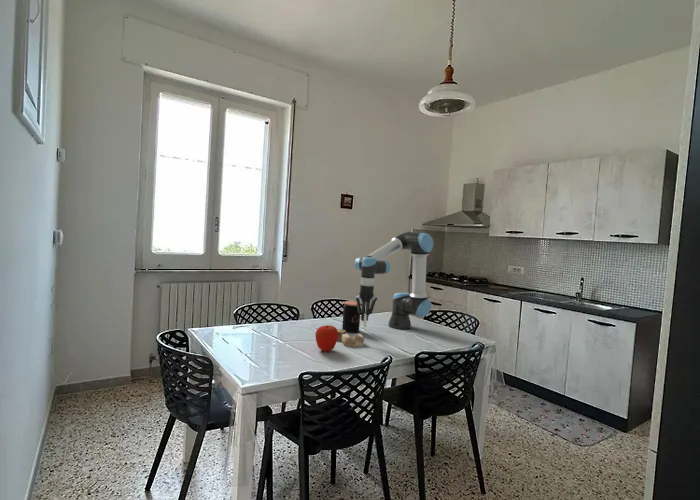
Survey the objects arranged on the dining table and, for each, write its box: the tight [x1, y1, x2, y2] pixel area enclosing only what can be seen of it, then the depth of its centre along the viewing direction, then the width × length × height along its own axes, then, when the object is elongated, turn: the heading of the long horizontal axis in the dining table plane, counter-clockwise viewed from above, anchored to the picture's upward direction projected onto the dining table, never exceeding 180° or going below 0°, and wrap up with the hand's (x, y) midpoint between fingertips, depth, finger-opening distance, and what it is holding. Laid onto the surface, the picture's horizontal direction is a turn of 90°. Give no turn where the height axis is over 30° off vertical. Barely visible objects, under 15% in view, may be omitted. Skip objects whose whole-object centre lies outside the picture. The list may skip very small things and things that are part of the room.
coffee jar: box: [341, 300, 362, 334], centre depth 246 cm, size 11×11×18 cm
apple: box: [315, 324, 338, 353], centre depth 205 cm, size 12×12×14 cm
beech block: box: [340, 333, 365, 347], centre depth 220 cm, size 5×6×11 cm
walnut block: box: [336, 328, 347, 342], centre depth 228 cm, size 5×6×11 cm
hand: (363, 326), depth 222 cm, fingers closed
